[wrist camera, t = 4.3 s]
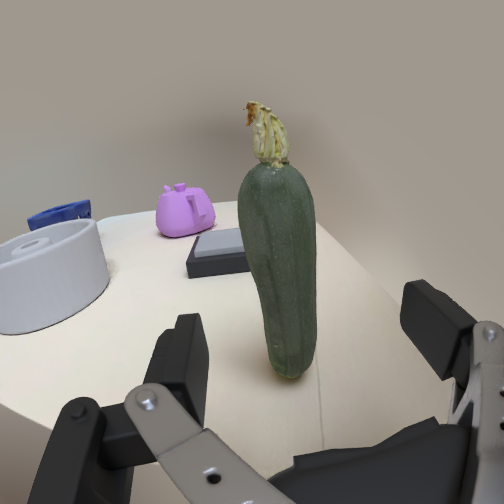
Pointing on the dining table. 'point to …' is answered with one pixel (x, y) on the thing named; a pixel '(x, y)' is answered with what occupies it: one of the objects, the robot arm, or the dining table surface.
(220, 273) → the scale
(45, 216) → the flower pot
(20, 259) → the container
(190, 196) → the teapot
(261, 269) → the vegetable
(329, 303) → the dining table surface
